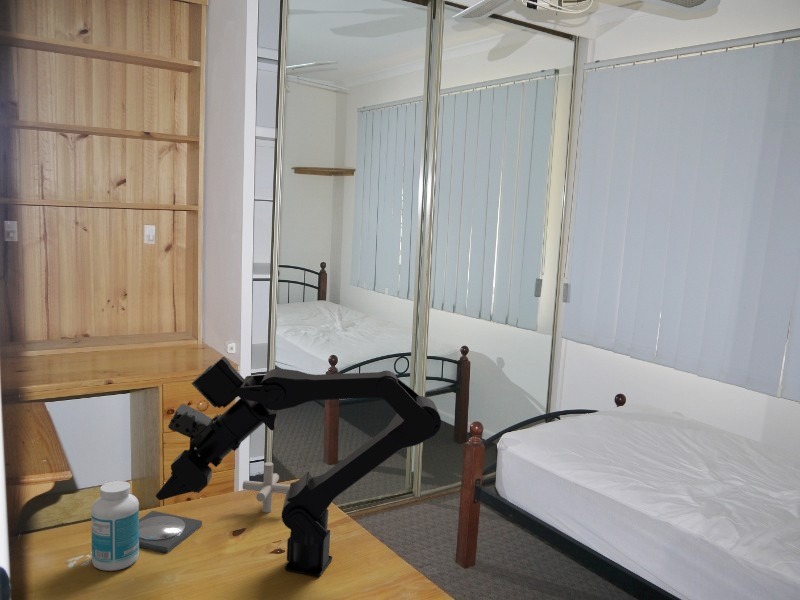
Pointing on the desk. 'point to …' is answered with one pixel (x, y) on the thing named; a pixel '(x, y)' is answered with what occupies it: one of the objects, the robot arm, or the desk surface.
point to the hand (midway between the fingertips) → (165, 486)
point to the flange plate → (165, 530)
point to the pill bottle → (115, 527)
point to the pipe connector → (266, 487)
